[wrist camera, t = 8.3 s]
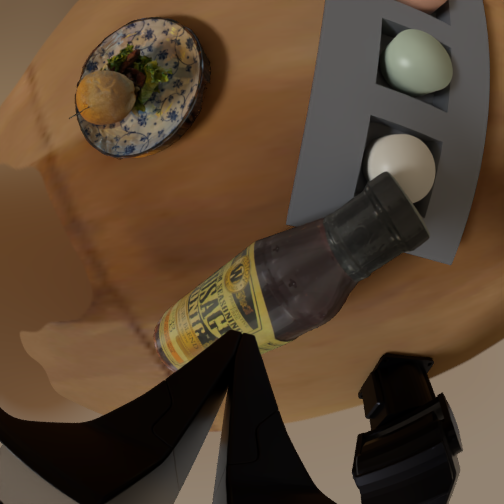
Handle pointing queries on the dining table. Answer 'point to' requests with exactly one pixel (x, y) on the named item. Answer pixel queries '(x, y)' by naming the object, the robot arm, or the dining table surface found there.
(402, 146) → the cream button
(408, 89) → the sage button
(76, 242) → the dining table surface
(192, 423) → the robot arm
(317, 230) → the sauce bottle
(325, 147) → the panel
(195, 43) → the burger
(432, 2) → the terracotta button
